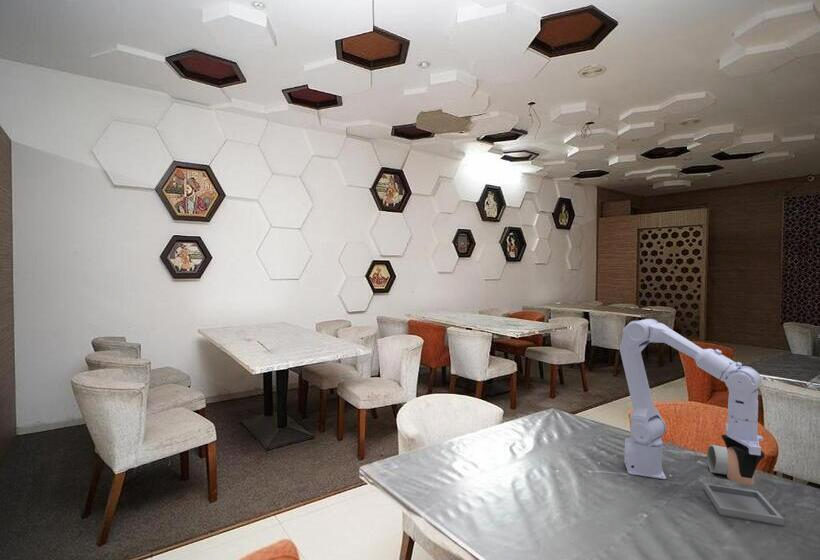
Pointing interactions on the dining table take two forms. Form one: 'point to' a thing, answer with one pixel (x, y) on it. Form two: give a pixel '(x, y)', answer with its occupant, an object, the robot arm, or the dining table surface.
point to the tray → (742, 504)
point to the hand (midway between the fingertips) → (741, 471)
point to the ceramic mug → (717, 459)
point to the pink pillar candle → (736, 469)
